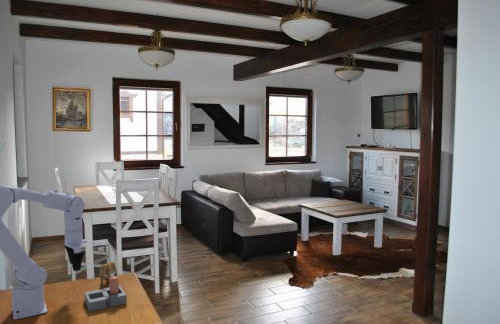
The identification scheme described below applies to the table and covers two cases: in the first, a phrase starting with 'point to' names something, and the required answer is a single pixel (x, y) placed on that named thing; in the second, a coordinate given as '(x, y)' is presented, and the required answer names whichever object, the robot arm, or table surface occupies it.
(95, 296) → the hole block
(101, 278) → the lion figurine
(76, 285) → the table surface
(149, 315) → the table surface
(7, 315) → the table surface
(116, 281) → the peg
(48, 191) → the robot arm
